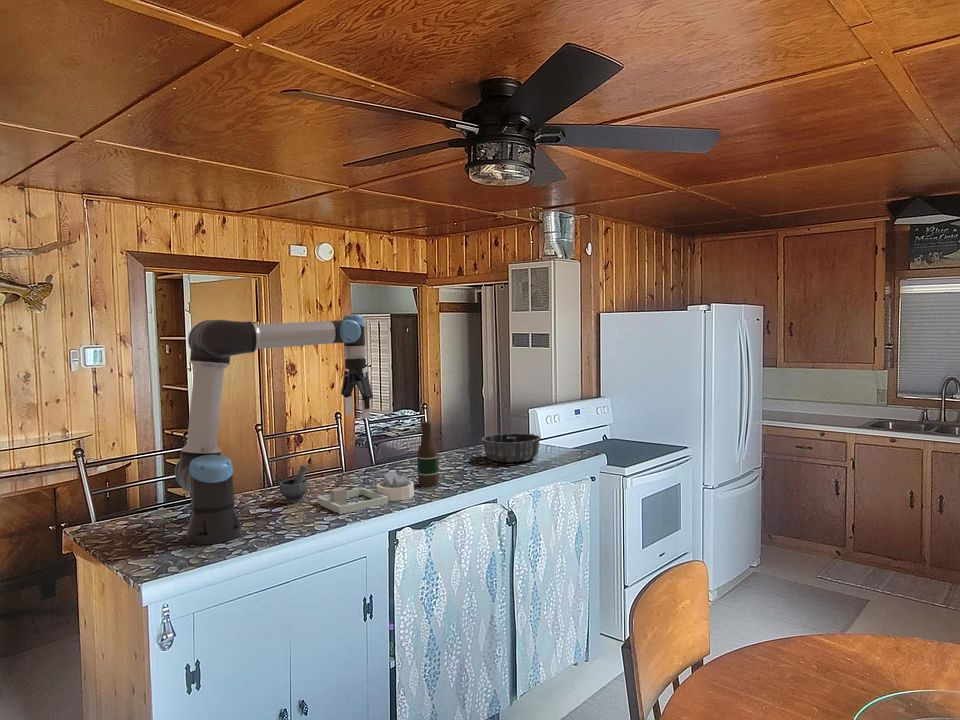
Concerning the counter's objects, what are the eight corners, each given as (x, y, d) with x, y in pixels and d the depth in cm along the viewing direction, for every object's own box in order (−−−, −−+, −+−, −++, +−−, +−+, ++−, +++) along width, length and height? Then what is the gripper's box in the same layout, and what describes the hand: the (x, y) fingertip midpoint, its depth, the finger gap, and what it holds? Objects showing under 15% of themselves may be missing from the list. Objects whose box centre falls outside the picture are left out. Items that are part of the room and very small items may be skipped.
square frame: (340, 514, 213) (339, 507, 213) (317, 503, 227) (316, 496, 227) (388, 503, 224) (388, 496, 224) (363, 494, 238) (363, 487, 238)
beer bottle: (442, 484, 249) (440, 421, 248) (427, 488, 244) (425, 424, 243) (429, 481, 255) (427, 420, 254) (414, 485, 249) (411, 422, 248)
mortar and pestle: (292, 506, 224) (290, 471, 224) (274, 502, 229) (272, 469, 229) (317, 498, 234) (315, 465, 233) (299, 495, 239) (297, 463, 238)
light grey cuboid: (391, 484, 231) (384, 474, 235) (390, 491, 232) (383, 481, 237) (402, 481, 233) (395, 471, 237) (401, 488, 235) (394, 478, 239)
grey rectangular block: (394, 496, 230) (397, 482, 227) (390, 490, 232) (393, 477, 230) (406, 494, 232) (409, 480, 230) (401, 488, 235) (404, 475, 232)
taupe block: (334, 509, 219) (334, 491, 219) (330, 507, 222) (329, 489, 222) (347, 506, 222) (346, 489, 222) (342, 504, 225) (341, 487, 224)
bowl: (389, 503, 224) (388, 490, 224) (370, 496, 235) (370, 483, 234) (420, 496, 232) (420, 483, 232) (401, 489, 243) (401, 477, 242)
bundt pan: (486, 453, 307) (485, 432, 306) (542, 453, 303) (541, 432, 303) (478, 465, 281) (477, 442, 280) (539, 465, 277) (539, 442, 277)
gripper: (381, 358, 228) (383, 418, 229) (349, 356, 247) (351, 412, 249) (361, 359, 223) (364, 420, 224) (330, 357, 243) (332, 414, 244)
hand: (357, 416), depth 236 cm, fingers open, 13 cm apart
